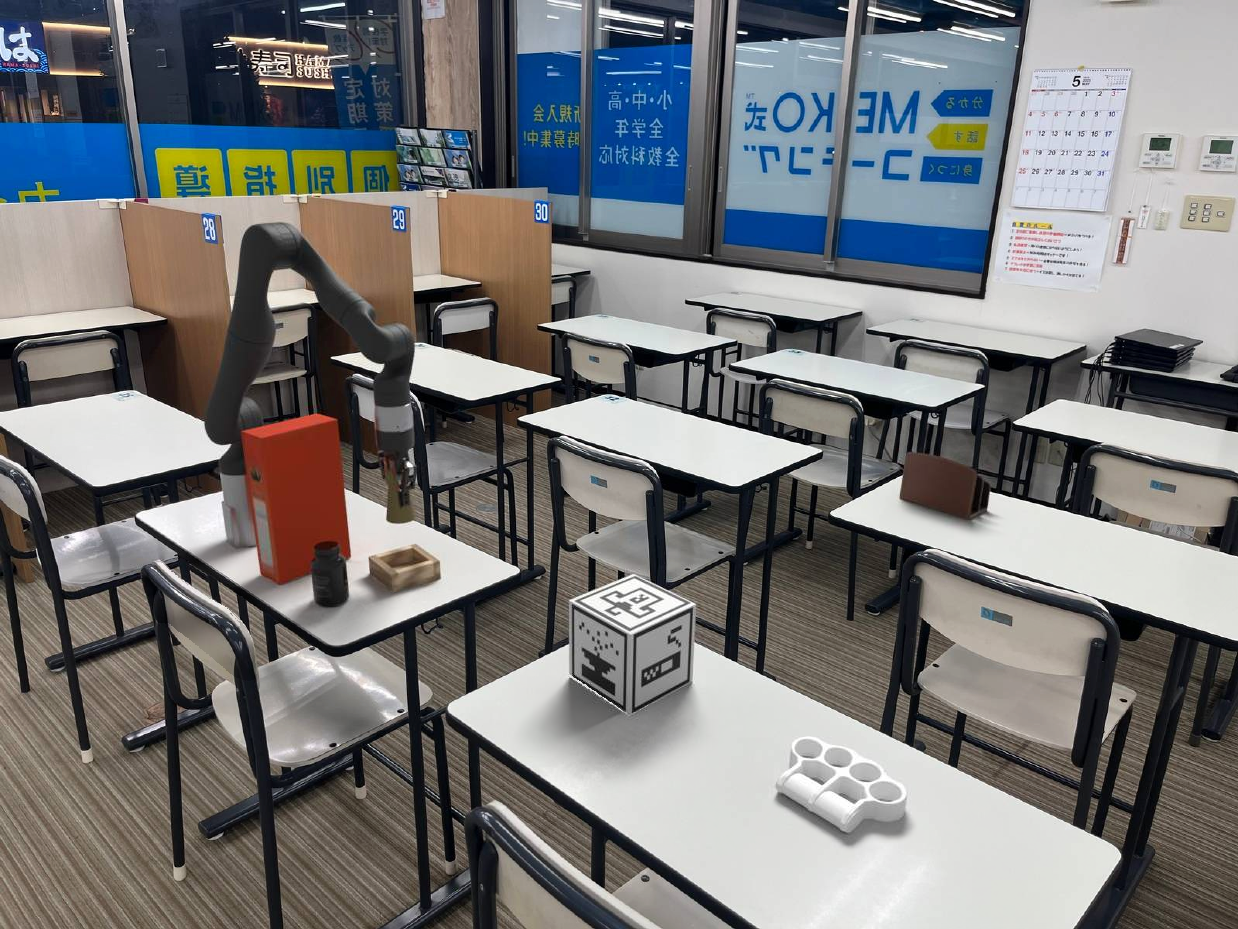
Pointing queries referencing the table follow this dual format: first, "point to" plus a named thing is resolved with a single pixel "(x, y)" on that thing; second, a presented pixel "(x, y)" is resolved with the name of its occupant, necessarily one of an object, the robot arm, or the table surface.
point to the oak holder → (404, 567)
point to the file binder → (295, 493)
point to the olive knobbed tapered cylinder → (397, 503)
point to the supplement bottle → (329, 575)
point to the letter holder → (944, 485)
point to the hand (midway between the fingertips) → (399, 503)
